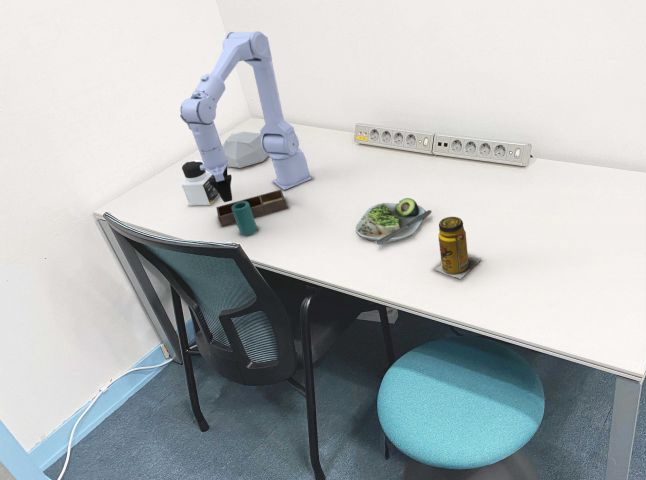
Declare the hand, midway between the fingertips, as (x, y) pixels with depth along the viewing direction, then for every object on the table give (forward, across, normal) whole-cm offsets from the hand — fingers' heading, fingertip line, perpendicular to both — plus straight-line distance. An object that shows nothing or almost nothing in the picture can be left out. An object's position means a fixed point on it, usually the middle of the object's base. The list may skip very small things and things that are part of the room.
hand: (226, 194), depth 159 cm
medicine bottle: (+10, -23, -8) cm, 26 cm away
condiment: (+11, +46, +46) cm, 65 cm away
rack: (+10, -7, +5) cm, 13 cm away
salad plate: (+10, +21, +38) cm, 45 cm away
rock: (+10, -44, +10) cm, 47 cm away
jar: (+10, +3, +2) cm, 11 cm away
